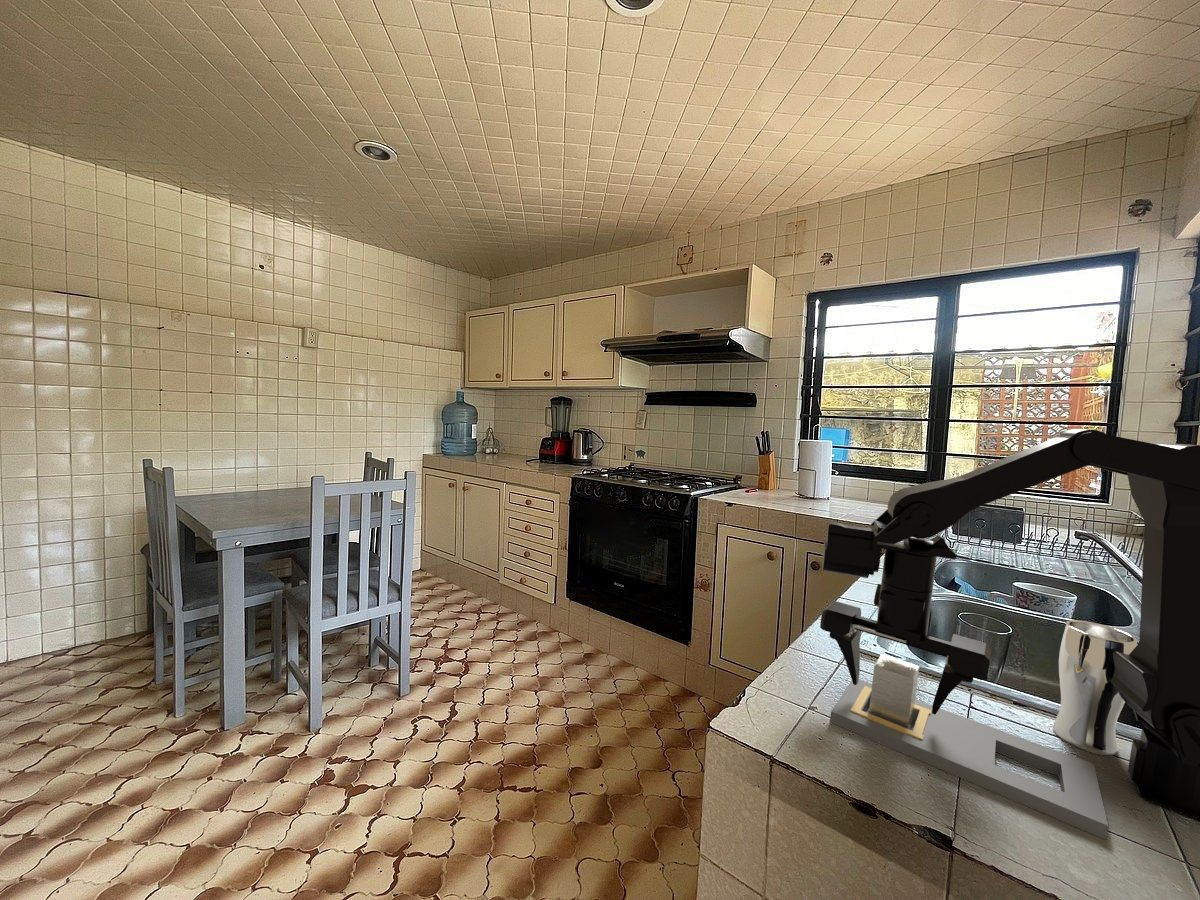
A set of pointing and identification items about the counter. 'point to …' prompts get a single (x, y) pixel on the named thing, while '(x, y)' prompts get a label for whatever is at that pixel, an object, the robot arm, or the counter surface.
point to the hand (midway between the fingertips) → (893, 697)
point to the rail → (982, 757)
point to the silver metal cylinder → (1090, 685)
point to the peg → (894, 690)
